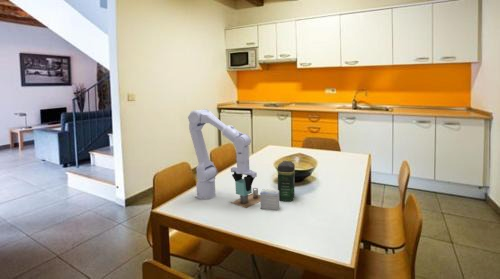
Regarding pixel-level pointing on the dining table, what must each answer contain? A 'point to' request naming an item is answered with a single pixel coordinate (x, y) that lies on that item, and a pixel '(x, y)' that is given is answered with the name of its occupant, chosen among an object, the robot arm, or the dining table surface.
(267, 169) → the dining table surface
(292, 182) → the coffee jar
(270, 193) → the medicine box
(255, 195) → the round post
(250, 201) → the stand plate
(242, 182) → the teal foam brick
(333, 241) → the dining table surface
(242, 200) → the square post
